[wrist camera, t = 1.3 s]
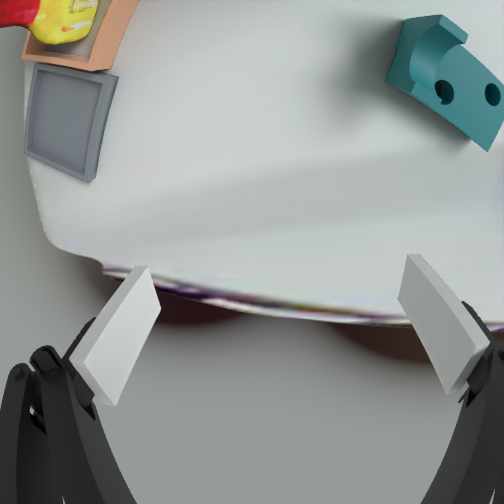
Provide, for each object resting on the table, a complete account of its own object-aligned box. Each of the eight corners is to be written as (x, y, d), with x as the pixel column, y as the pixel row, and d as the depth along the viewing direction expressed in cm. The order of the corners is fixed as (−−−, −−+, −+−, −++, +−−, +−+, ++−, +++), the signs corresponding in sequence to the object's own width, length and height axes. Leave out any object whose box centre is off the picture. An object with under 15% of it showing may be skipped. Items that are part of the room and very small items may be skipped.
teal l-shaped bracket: (381, 80, 27) (411, 93, 20) (405, 19, 20) (442, 14, 12) (471, 139, 29) (507, 169, 21) (494, 88, 21) (536, 108, 14)
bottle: (98, 39, 25) (-8, 52, 10) (69, 46, 25) (-31, 66, 9) (112, -25, 18) (15, -42, 2) (81, -15, 18) (-14, -20, 2)
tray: (45, 61, 26) (35, 63, 24) (119, 76, 29) (109, 78, 27) (32, 148, 37) (24, 153, 35) (95, 176, 40) (87, 182, 38)
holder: (74, -33, 14) (56, -37, 11) (158, -35, 18) (142, -44, 14) (40, 55, 25) (20, 59, 21) (111, 68, 28) (91, 71, 25)
